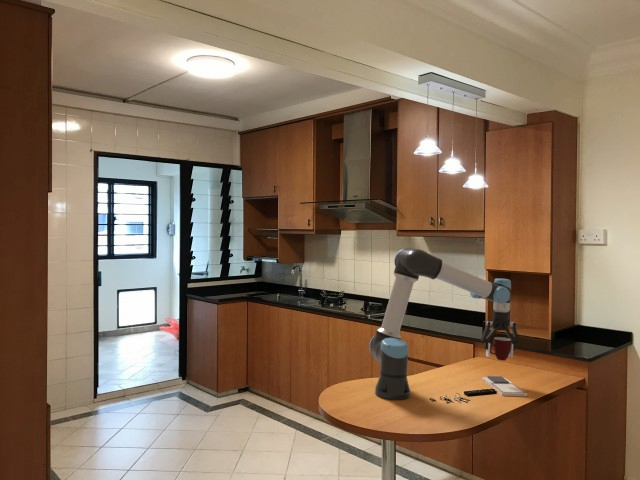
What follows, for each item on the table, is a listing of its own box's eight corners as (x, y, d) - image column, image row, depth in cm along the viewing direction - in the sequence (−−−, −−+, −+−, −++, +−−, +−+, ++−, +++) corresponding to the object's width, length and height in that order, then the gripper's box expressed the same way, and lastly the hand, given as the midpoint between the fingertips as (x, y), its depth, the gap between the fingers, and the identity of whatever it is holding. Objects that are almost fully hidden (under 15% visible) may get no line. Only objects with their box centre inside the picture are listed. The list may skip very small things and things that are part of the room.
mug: (494, 362, 242) (495, 341, 242) (484, 357, 250) (485, 337, 249) (514, 361, 244) (514, 340, 244) (504, 357, 252) (504, 336, 252)
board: (502, 395, 228) (502, 391, 228) (482, 379, 252) (482, 375, 252) (527, 396, 229) (527, 391, 229) (505, 380, 253) (505, 376, 252)
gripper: (480, 311, 242) (478, 358, 243) (528, 312, 243) (526, 359, 244) (475, 308, 250) (472, 354, 250) (521, 310, 251) (519, 355, 251)
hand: (499, 356), depth 247 cm, fingers closed on mug, 11 cm apart
